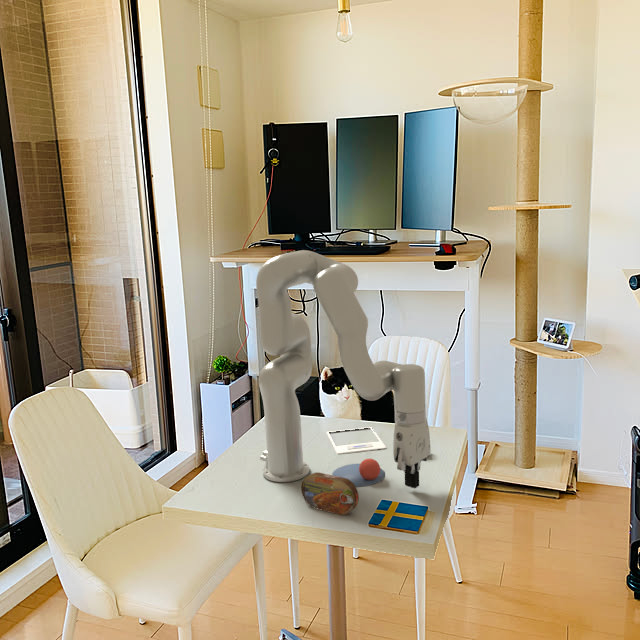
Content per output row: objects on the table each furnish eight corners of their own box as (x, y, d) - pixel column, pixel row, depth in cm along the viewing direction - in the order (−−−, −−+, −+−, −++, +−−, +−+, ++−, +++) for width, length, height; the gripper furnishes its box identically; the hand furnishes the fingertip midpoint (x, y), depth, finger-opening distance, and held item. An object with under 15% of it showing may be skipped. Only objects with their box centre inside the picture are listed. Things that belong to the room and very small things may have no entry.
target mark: (321, 477, 172) (321, 477, 172) (354, 460, 183) (353, 459, 183) (363, 491, 163) (363, 490, 163) (395, 472, 173) (395, 471, 173)
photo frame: (337, 452, 187) (326, 431, 205) (337, 456, 188) (326, 434, 205) (386, 446, 190) (371, 426, 207) (386, 450, 190) (371, 429, 207)
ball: (356, 459, 168) (374, 467, 165) (367, 452, 172) (385, 460, 169) (353, 478, 170) (371, 486, 167) (365, 470, 174) (382, 478, 171)
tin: (301, 504, 158) (299, 472, 157) (308, 499, 161) (306, 467, 159) (354, 519, 150) (352, 484, 148) (361, 513, 152) (359, 479, 151)
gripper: (405, 427, 150) (408, 501, 154) (439, 409, 161) (441, 479, 165) (379, 421, 155) (382, 493, 158) (414, 404, 166) (415, 472, 169)
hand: (412, 485), depth 161 cm, fingers closed
